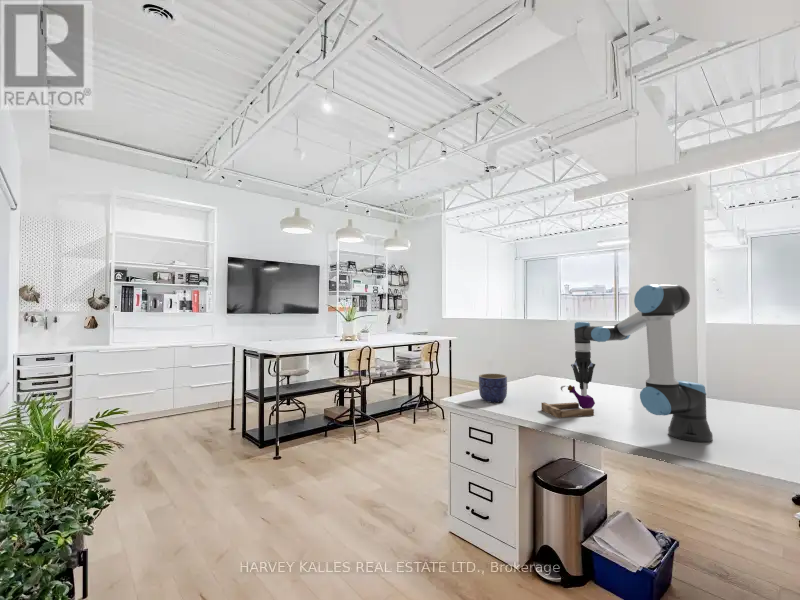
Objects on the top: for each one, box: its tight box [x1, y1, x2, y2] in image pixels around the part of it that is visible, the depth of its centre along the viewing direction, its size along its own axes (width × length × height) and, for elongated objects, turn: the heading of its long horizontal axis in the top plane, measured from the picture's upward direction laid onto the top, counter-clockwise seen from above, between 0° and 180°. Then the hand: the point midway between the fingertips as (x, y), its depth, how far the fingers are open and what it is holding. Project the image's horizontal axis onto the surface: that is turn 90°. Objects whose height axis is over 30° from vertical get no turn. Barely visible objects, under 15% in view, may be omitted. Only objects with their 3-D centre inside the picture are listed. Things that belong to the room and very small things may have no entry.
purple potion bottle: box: [560, 384, 596, 409], centre depth 209 cm, size 8×8×18 cm
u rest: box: [541, 402, 595, 419], centre depth 206 cm, size 15×20×4 cm
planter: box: [478, 373, 508, 404], centre depth 235 cm, size 16×16×15 cm
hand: (584, 395), depth 208 cm, fingers closed
